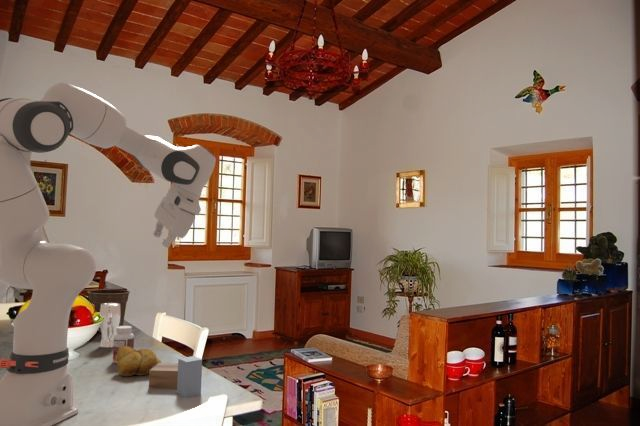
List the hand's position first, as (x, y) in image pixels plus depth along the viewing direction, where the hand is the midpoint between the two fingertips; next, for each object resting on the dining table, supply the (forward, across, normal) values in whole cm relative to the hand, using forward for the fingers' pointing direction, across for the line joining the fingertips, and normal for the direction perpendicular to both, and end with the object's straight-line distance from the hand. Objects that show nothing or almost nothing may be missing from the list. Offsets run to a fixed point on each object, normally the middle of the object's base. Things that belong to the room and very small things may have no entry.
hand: (160, 241), depth 151 cm
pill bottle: (+43, -10, +11) cm, 45 cm away
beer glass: (+49, -33, +14) cm, 61 cm away
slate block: (+30, +29, +14) cm, 44 cm away
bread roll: (+38, +5, +11) cm, 40 cm away
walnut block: (+33, +19, +13) cm, 40 cm away
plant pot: (+54, -61, +22) cm, 85 cm away
